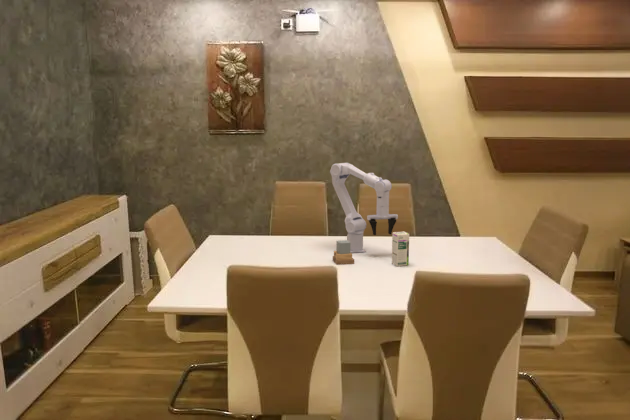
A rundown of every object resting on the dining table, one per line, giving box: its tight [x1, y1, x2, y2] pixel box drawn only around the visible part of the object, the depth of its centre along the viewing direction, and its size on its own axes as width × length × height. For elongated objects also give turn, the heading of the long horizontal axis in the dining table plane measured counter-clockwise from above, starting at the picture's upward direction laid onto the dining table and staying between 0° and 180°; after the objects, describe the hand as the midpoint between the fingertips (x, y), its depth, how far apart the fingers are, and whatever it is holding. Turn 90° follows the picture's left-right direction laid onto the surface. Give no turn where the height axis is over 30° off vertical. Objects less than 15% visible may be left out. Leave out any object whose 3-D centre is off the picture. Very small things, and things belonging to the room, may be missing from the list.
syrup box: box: [391, 231, 410, 267], centre depth 241 cm, size 6×6×14 cm
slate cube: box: [335, 239, 351, 254], centre depth 244 cm, size 5×5×5 cm
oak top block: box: [333, 250, 353, 260], centre depth 245 cm, size 7×7×2 cm
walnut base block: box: [332, 255, 355, 266], centre depth 245 cm, size 8×8×2 cm
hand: (382, 234), depth 255 cm, fingers open, 7 cm apart
